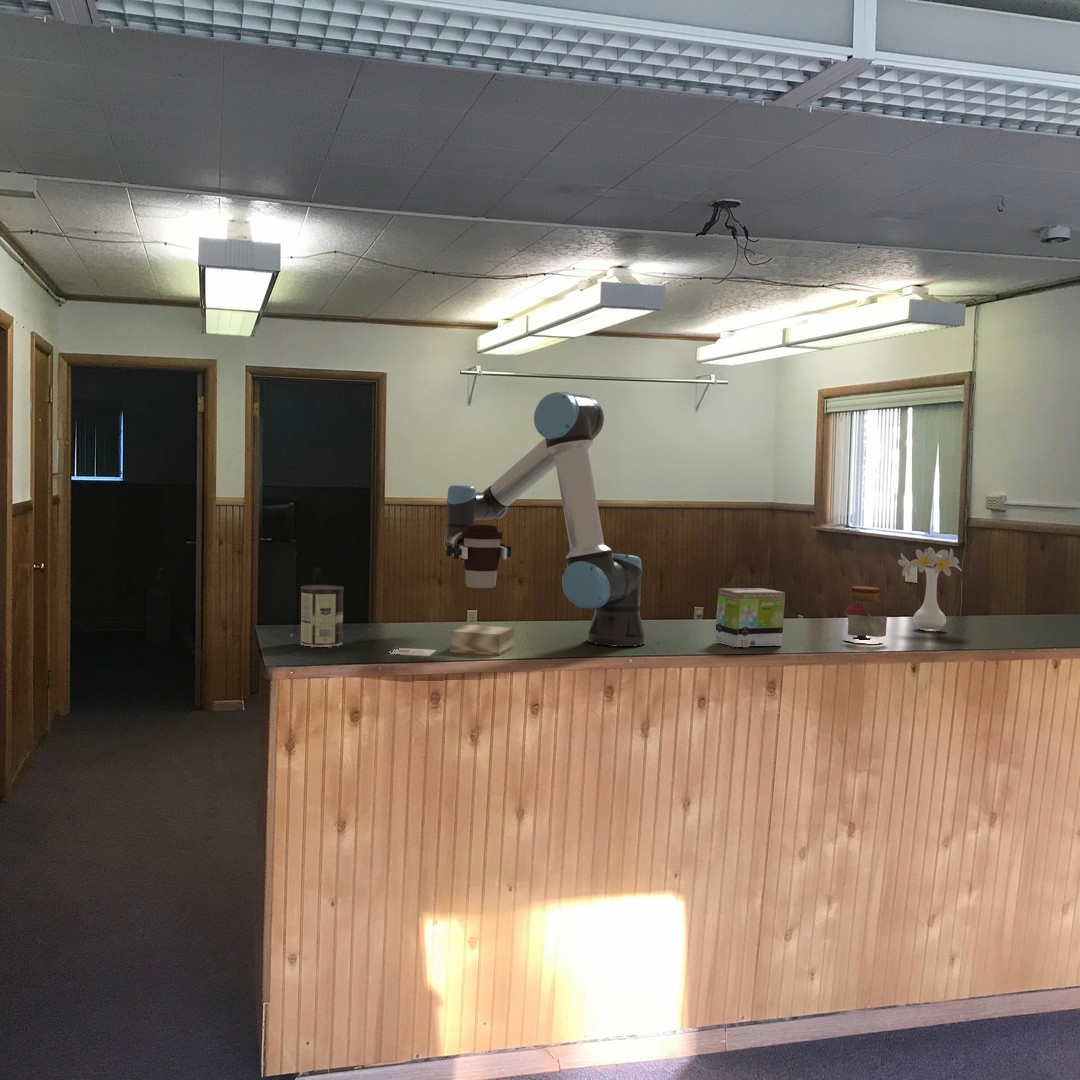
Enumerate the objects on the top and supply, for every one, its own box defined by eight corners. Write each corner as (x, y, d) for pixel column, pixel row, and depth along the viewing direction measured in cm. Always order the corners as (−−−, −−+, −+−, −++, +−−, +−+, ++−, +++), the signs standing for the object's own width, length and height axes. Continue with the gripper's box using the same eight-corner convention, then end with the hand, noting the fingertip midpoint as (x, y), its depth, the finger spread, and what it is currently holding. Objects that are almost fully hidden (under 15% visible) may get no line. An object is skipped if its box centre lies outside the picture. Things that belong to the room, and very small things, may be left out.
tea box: (737, 649, 277) (740, 592, 276) (713, 643, 285) (716, 587, 285) (783, 646, 284) (786, 590, 283) (759, 640, 292) (761, 586, 291)
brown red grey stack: (829, 638, 300) (832, 585, 299) (869, 638, 304) (872, 585, 303) (851, 645, 289) (854, 590, 288) (893, 645, 292) (896, 590, 291)
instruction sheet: (436, 650, 259) (436, 649, 259) (428, 656, 251) (428, 655, 251) (395, 648, 260) (395, 647, 260) (386, 654, 252) (386, 652, 252)
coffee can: (326, 639, 270) (327, 583, 269) (351, 645, 263) (352, 587, 262) (291, 643, 263) (292, 586, 262) (316, 649, 256) (317, 590, 255)
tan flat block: (514, 647, 267) (514, 627, 267) (499, 655, 255) (499, 634, 255) (466, 644, 270) (467, 624, 270) (449, 651, 258) (450, 631, 258)
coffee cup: (485, 590, 255) (487, 526, 254) (452, 586, 260) (453, 524, 260) (509, 587, 264) (510, 525, 263) (475, 583, 269) (477, 523, 268)
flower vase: (888, 627, 327) (892, 545, 325) (941, 627, 332) (946, 546, 330) (913, 634, 314) (918, 548, 313) (968, 633, 319) (973, 549, 317)
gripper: (507, 561, 282) (529, 569, 260) (425, 560, 276) (440, 569, 254) (508, 532, 281) (530, 538, 260) (426, 531, 276) (441, 537, 254)
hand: (485, 553), depth 257 cm, fingers closed on coffee cup, 9 cm apart
